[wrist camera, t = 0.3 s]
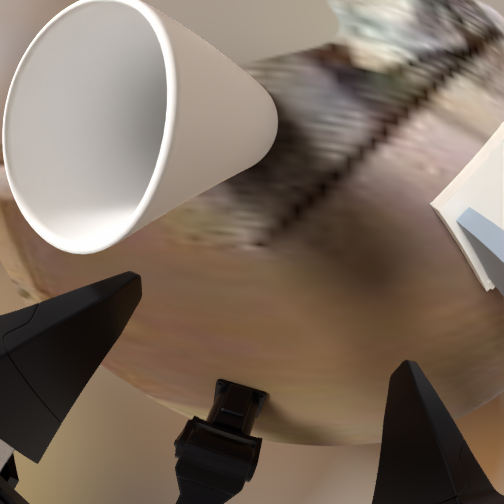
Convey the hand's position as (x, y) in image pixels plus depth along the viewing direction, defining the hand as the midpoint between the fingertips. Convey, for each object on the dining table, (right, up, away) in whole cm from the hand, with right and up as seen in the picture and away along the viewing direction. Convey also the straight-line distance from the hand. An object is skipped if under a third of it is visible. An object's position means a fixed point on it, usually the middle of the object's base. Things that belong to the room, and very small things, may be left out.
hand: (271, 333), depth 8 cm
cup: (-3, +13, +12) cm, 18 cm away
